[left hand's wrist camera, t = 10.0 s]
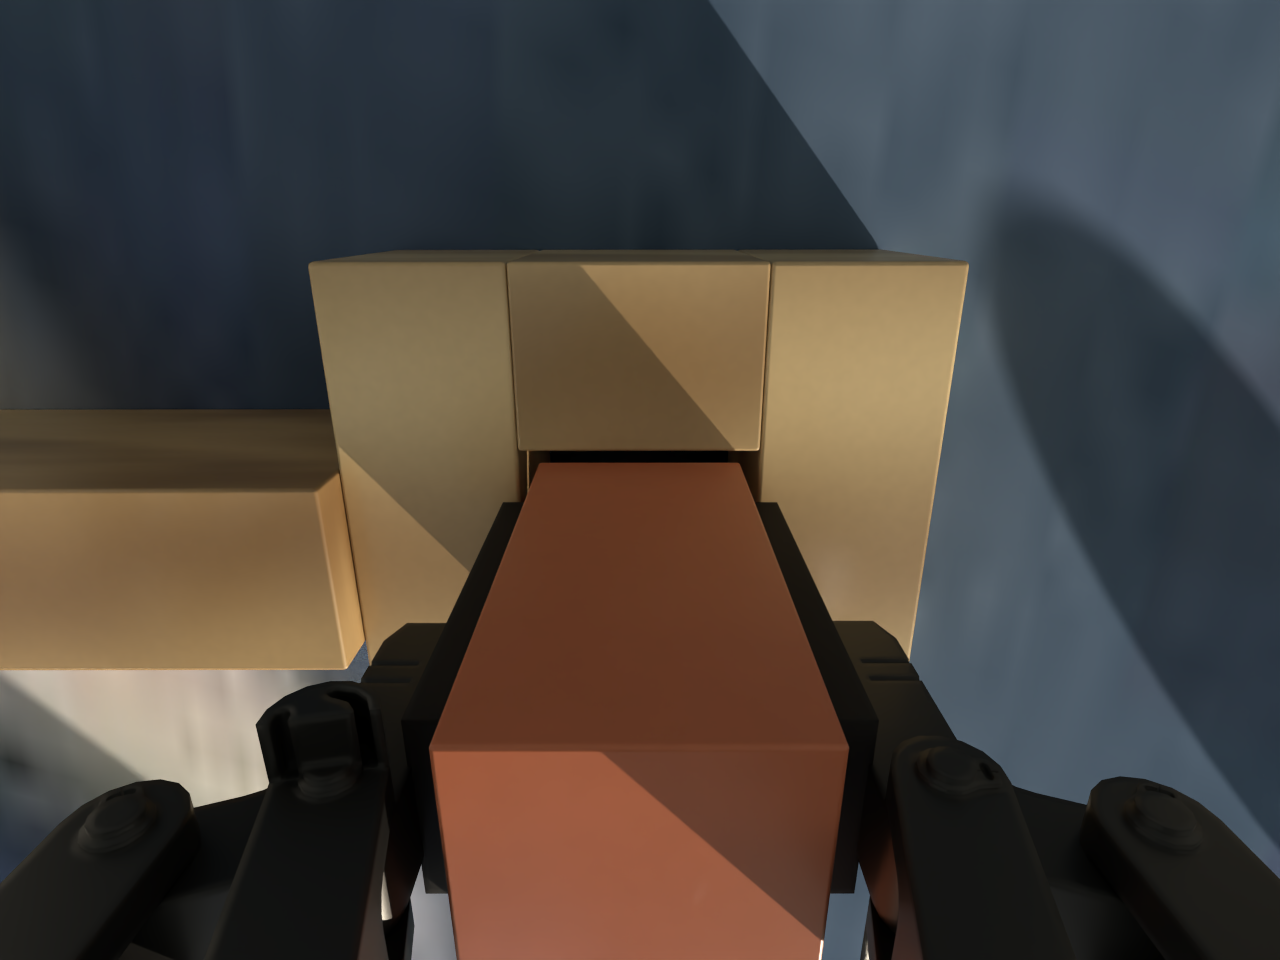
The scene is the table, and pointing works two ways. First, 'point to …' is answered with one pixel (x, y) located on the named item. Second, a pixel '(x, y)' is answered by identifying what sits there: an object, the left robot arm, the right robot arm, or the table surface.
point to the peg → (639, 733)
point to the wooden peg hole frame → (480, 448)
